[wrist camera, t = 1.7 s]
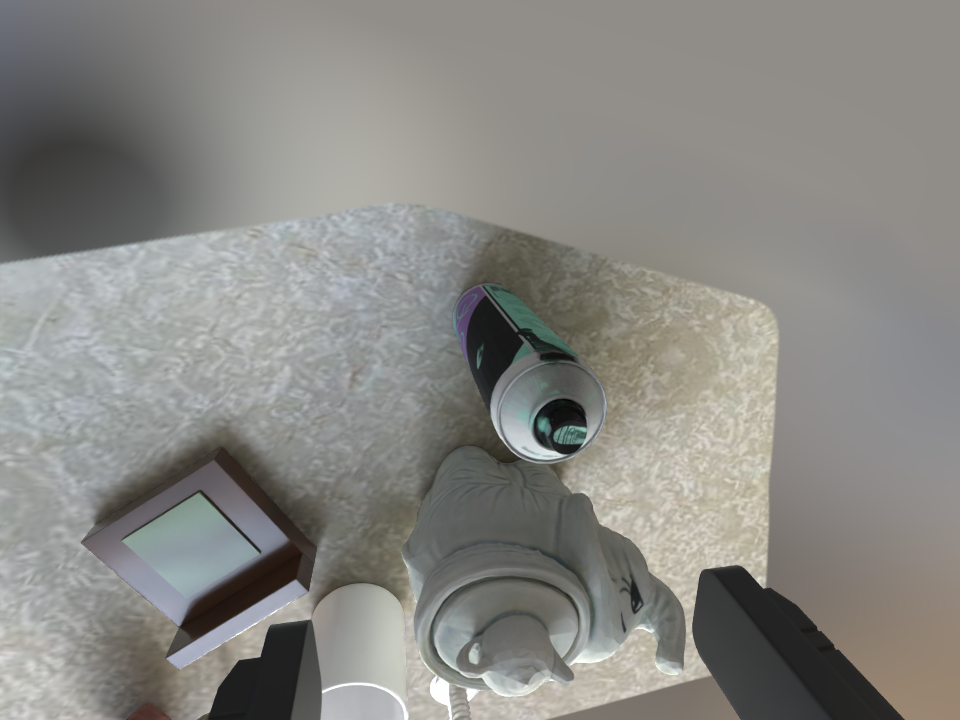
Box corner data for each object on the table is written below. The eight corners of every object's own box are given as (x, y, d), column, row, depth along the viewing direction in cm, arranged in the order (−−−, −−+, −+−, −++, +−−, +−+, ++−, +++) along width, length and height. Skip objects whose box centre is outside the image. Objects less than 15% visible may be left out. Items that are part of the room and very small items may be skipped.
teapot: (620, 514, 49) (747, 701, 32) (485, 602, 50) (538, 832, 33) (528, 381, 44) (622, 522, 26) (377, 484, 44) (371, 688, 27)
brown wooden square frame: (93, 526, 42) (56, 570, 37) (222, 446, 41) (200, 481, 36) (200, 620, 46) (178, 670, 41) (317, 548, 45) (309, 591, 41)
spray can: (442, 296, 40) (488, 404, 21) (510, 272, 40) (615, 358, 22) (464, 361, 42) (526, 511, 23) (530, 337, 42) (642, 468, 24)
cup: (386, 567, 47) (386, 666, 38) (429, 660, 52) (438, 770, 42) (295, 599, 47) (272, 707, 37) (346, 690, 51) (337, 808, 42)
